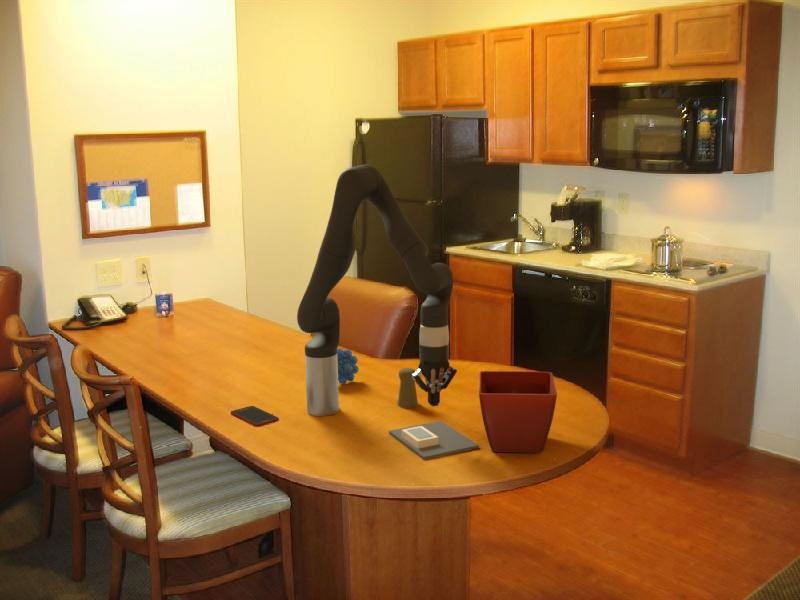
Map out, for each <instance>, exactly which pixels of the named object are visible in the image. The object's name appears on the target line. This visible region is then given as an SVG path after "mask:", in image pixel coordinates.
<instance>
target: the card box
mask: <svg viewBox="0 0 800 600" xmlns="http://www.w3.org/2000/svg"><path fill="white" fill-rule="evenodd" d="M402 438H404V439H405V440H406V441H408V442H409V443H411V444H412V445H413V446H415V447H416V448H417V449H419V448H423V447H428V446H433V445H438V437H437V436H436V435H434V434H433V433H432V432H430V431H429V430H427V429H426V428H424V427H423V426H419V427H413V428H408V429H403V430H402Z"/></svg>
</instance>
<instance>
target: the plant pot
mask: <svg viewBox="0 0 800 600" xmlns="http://www.w3.org/2000/svg"><path fill="white" fill-rule="evenodd" d="M478 387H479V388H478V395H479V397H478V398H479V404H480V411H481V415H482V416H481V417H482V420H483V421H482V422H483V426H484V431H485V434H486V436H487V440H488V444H489V447H490V450H491V451H492V452H494V453H495V452H496V453H531V454H532V453H535V454H536V453H542V452H543V450H544V448H545V445H546V442H547V439H548V437H549V433H550V431H551V426H552V423H553V419H554V414H555V409H556V406H557V405H556V404H557V397H558V392H557V389H556V384H555V379H554V374H553V372H551V371H530V370H529V371H526V370H524V371H523V370H522V371H521V370H519V371H518V370H481V371H479V386H478Z"/></svg>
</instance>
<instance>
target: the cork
mask: <svg viewBox="0 0 800 600" xmlns="http://www.w3.org/2000/svg"><path fill="white" fill-rule="evenodd" d="M416 371H417V370H416V369H415V368H413V367H403V368H400V369H399V371H398V378H399V380H400V383H399V390H398V397H397V398H398V400H397V406H398V408H399V407H400V408H403V409H412V408H416V407H418V406H419V401H418V395H417V387H416V382H415V381H414V380H413V378H412V377H411V374H412V373H415V372H416ZM417 405H418V406H417ZM415 406H416V407H415Z"/></svg>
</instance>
